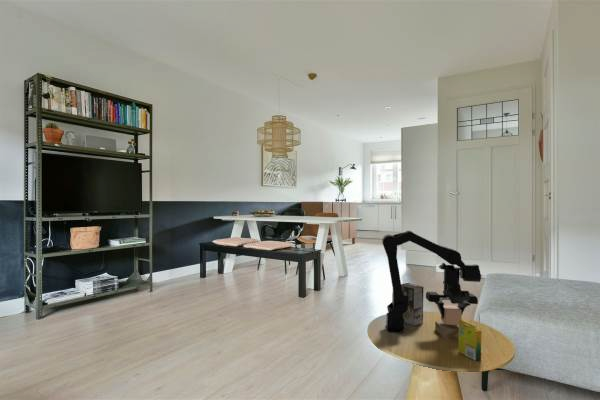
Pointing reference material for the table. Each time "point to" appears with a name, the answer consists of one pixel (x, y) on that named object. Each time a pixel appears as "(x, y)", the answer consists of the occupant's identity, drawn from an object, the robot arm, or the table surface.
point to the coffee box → (413, 304)
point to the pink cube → (451, 314)
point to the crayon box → (469, 341)
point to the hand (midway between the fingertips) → (450, 318)
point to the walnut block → (447, 330)
